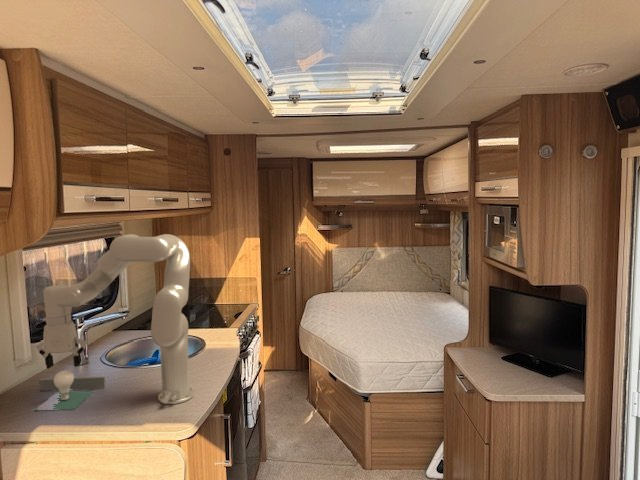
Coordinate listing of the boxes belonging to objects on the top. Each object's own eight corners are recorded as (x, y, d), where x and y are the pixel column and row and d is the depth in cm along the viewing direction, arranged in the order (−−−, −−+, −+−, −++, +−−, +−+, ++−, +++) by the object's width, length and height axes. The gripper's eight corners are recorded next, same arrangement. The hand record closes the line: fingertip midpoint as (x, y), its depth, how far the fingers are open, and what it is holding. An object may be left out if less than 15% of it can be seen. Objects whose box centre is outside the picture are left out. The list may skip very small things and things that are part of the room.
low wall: (104, 388, 166) (103, 377, 166) (40, 391, 165) (39, 380, 165) (105, 387, 168) (105, 376, 167) (42, 389, 166) (41, 378, 166)
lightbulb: (57, 398, 158) (54, 369, 157) (76, 394, 161) (74, 366, 159) (53, 405, 152) (51, 375, 151) (73, 402, 155) (71, 372, 154)
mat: (74, 409, 150) (74, 408, 150) (33, 411, 149) (33, 410, 149) (93, 391, 164) (93, 390, 164) (55, 393, 163) (55, 392, 163)
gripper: (27, 324, 149) (33, 372, 151) (78, 321, 150) (83, 368, 152) (40, 318, 157) (45, 363, 159) (88, 315, 158) (93, 360, 159)
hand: (64, 366), depth 155 cm, fingers open, 9 cm apart
